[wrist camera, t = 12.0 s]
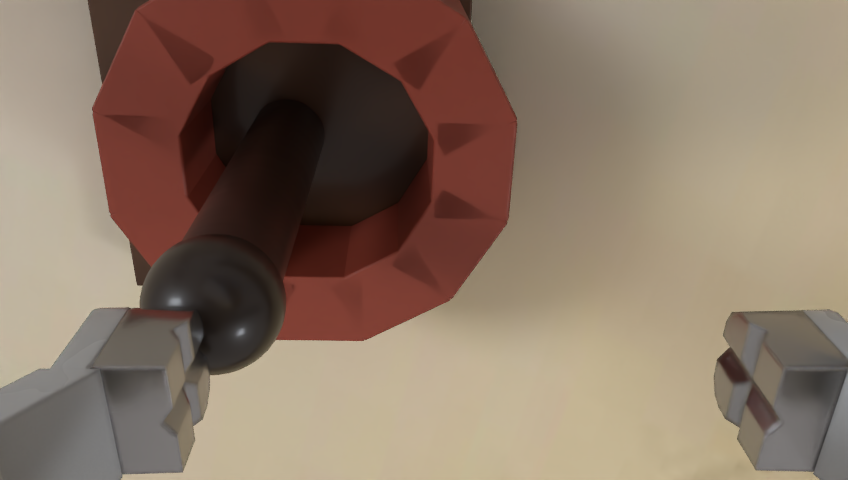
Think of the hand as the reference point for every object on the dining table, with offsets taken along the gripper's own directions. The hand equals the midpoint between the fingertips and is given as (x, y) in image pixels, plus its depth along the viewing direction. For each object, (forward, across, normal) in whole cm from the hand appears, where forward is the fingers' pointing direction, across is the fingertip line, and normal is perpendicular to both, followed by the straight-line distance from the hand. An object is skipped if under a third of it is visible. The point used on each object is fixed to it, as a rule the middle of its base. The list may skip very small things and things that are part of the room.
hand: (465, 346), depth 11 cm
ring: (+10, +3, 0) cm, 11 cm away
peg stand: (+12, +4, 0) cm, 13 cm away
